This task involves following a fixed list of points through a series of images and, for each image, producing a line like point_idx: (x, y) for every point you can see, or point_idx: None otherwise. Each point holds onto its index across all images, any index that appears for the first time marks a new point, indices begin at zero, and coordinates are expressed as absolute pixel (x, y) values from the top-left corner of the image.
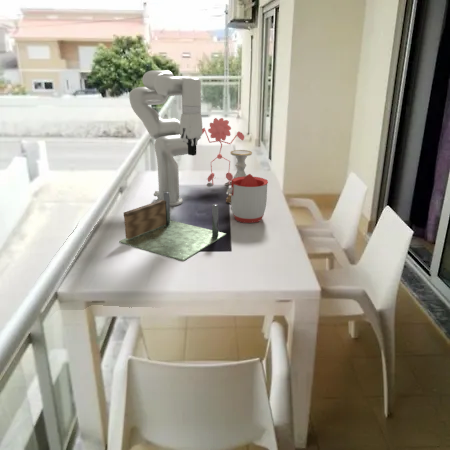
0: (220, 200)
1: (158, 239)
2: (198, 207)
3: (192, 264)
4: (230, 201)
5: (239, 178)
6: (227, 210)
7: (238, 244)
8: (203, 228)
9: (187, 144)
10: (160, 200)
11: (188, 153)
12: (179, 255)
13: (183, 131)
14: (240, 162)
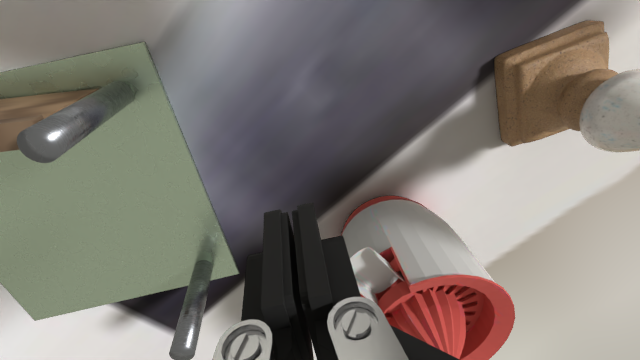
0: (506, 17)
1: (17, 190)
2: (367, 15)
3: (51, 336)
4: (499, 80)
5: (461, 282)
6: (411, 133)
7: (220, 321)
8: (210, 211)
9: (220, 358)
10: (16, 126)
11: (265, 225)
12: (35, 301)
13: None
14: None
